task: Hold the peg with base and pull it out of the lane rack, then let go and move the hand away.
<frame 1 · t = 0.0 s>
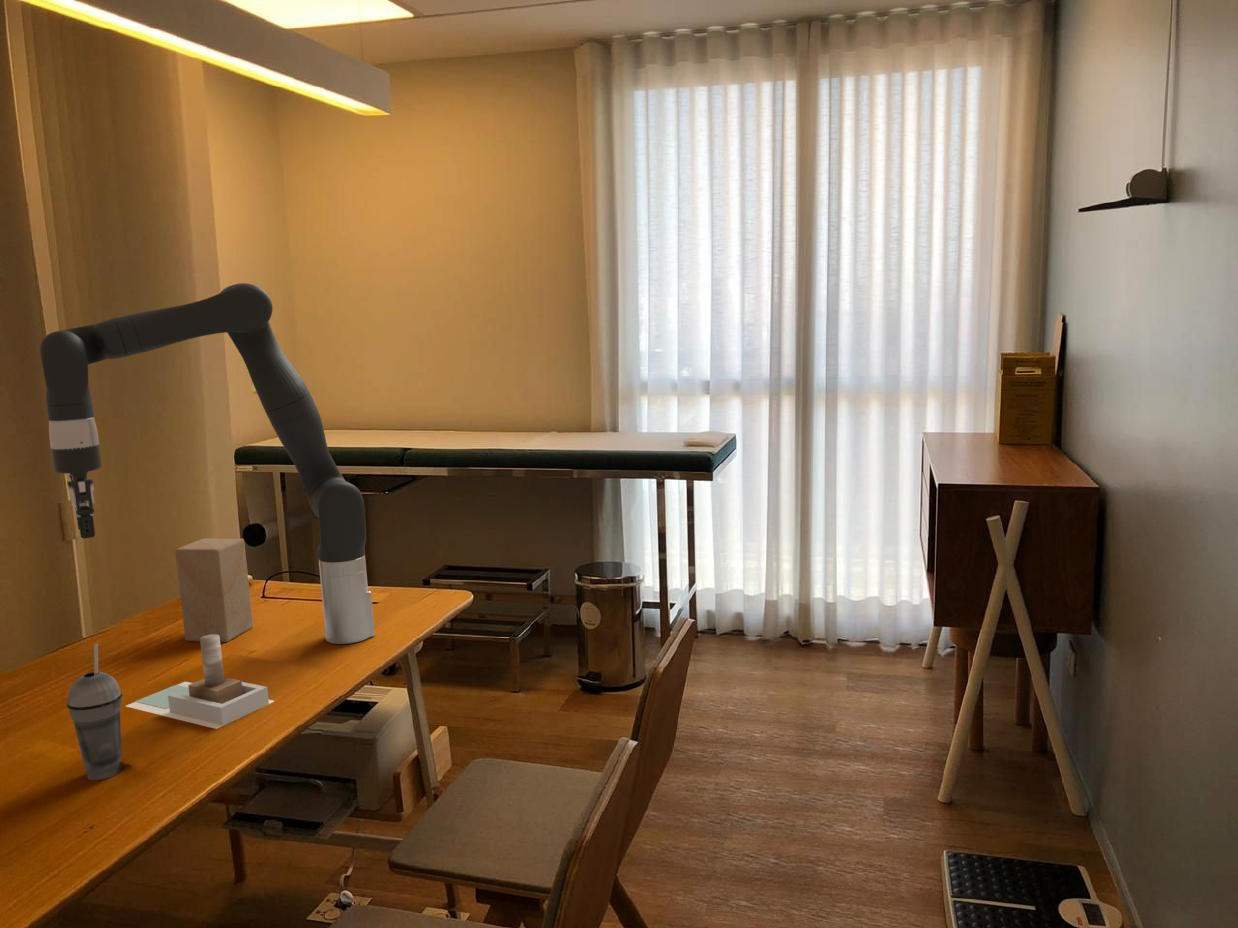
hand: (86, 533, 174), 29 cm above the table, tool pointing down, fingers open, 8 cm apart
lane rack: (202, 712, 166), on the table
beverage cup: (104, 774, 145), on the table
peg with base: (213, 671, 163), point 8 cm above the table, slide at 0.0 cm
wooden block: (220, 635, 208), on the table
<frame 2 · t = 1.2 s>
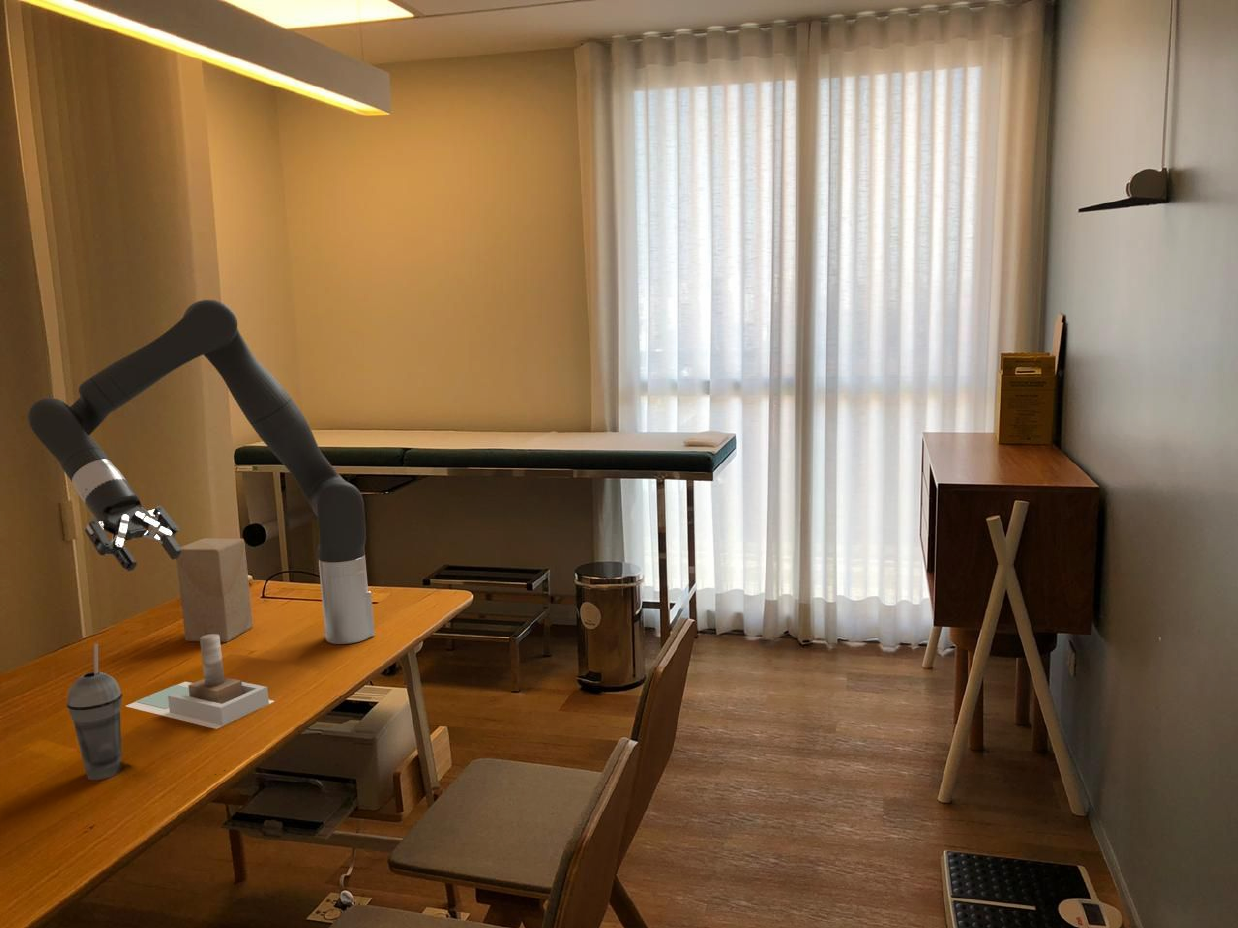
hand: (155, 561, 166), 26 cm above the table, tool tilted 45°, fingers open, 8 cm apart
nothing on the table moved.
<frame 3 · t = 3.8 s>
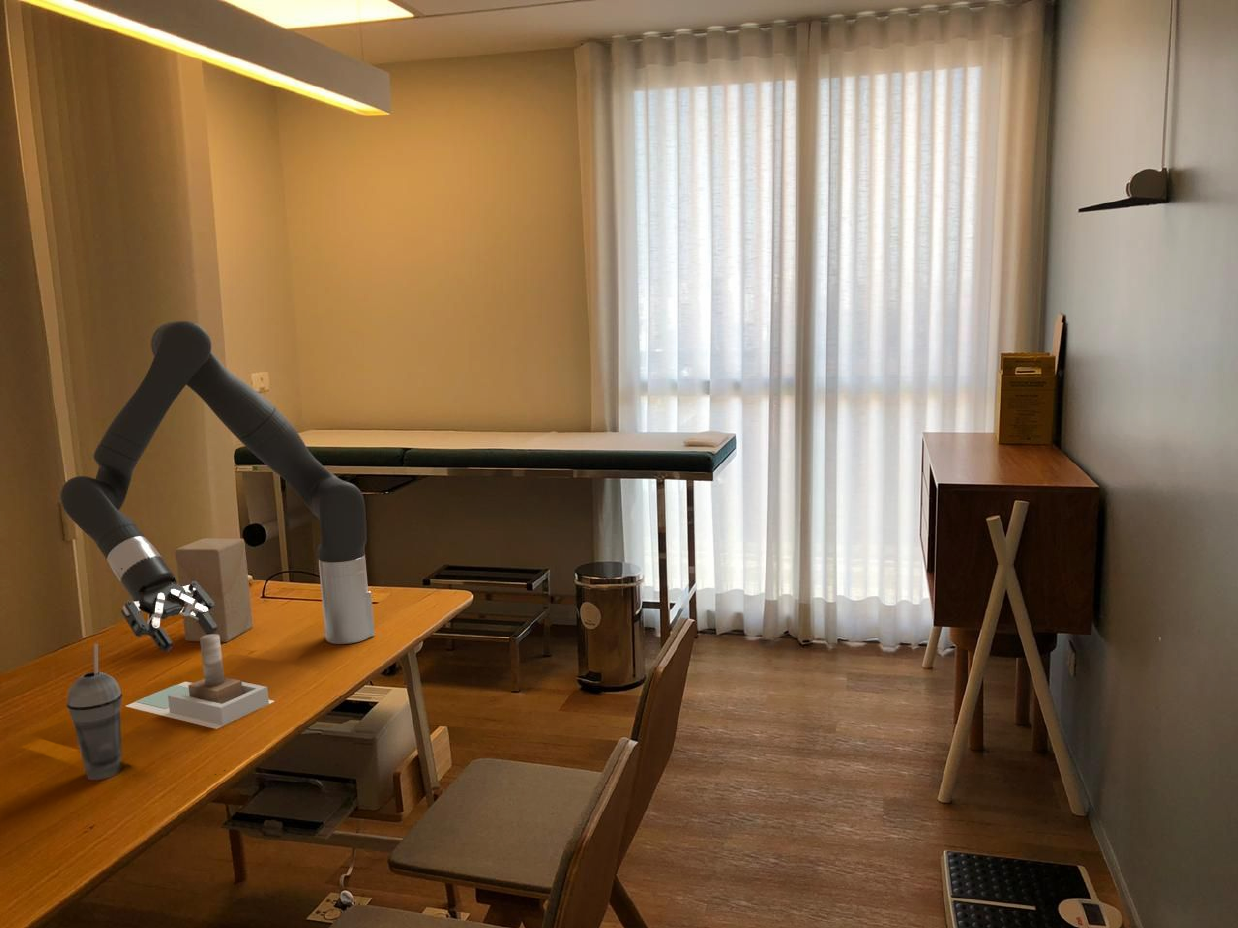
hand: (192, 640, 164), 13 cm above the table, tool tilted 45°, fingers open, 8 cm apart
nothing on the table moved.
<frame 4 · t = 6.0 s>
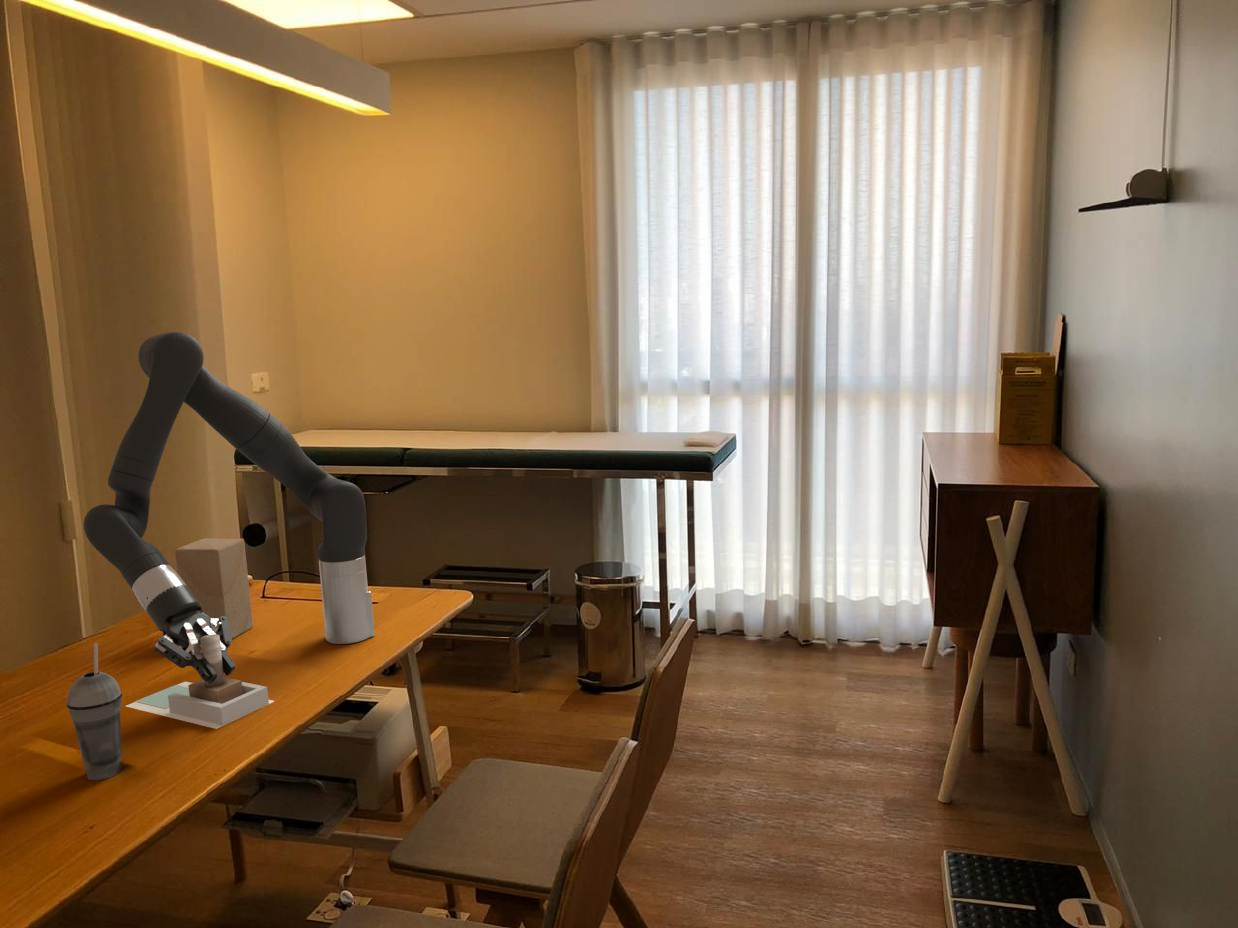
hand: (222, 675, 162), 7 cm above the table, tool tilted 45°, fingers closed on peg with base, 3 cm apart
peg with base: (213, 671, 163), point 8 cm above the table, slide at 0.0 cm, touching gripper
everything else where it was.
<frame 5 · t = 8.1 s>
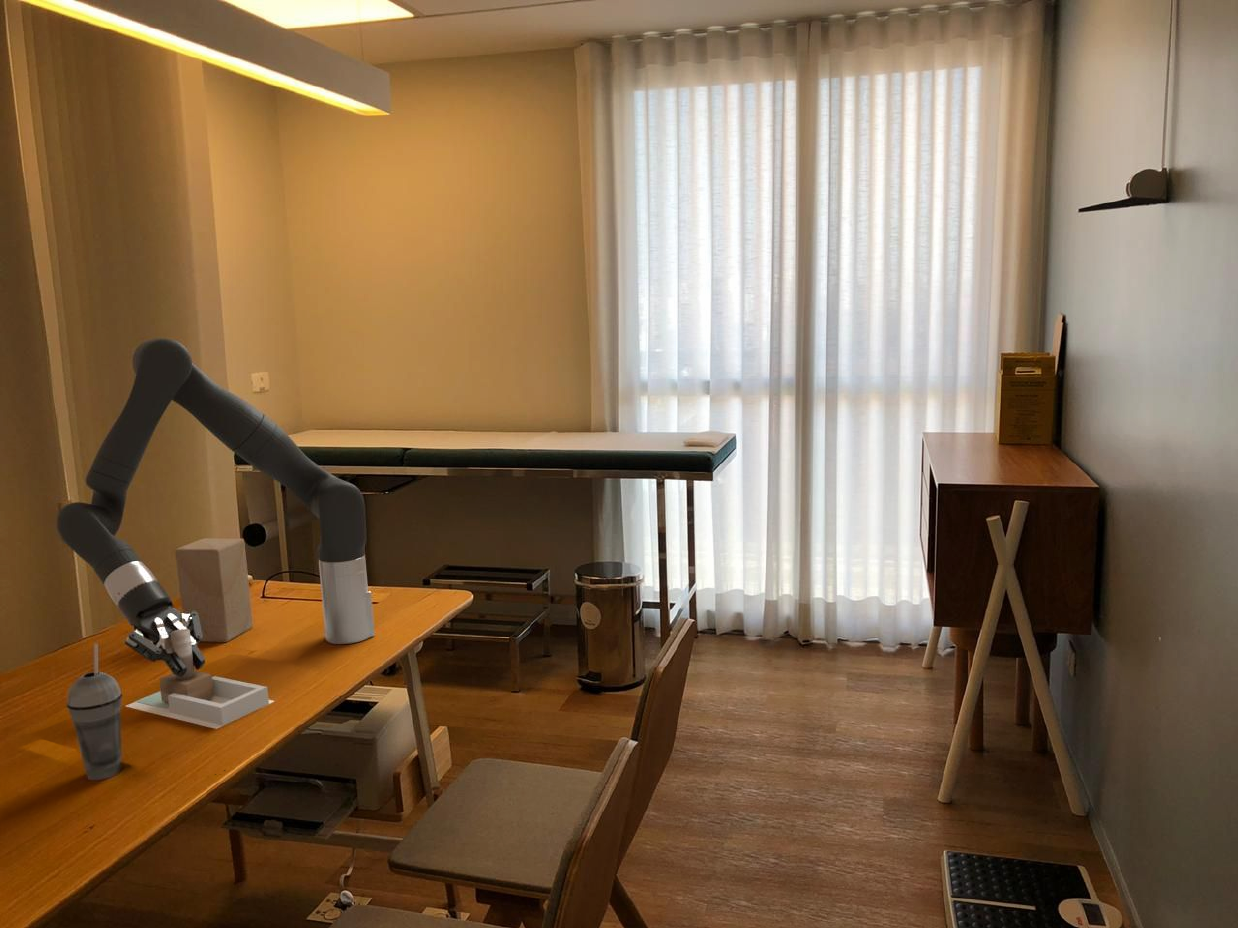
hand: (192, 669, 165), 7 cm above the table, tool tilted 45°, fingers closed on peg with base, 3 cm apart
peg with base: (184, 665, 166), point 8 cm above the table, slide at 7.5 cm, touching gripper
everything else where it was.
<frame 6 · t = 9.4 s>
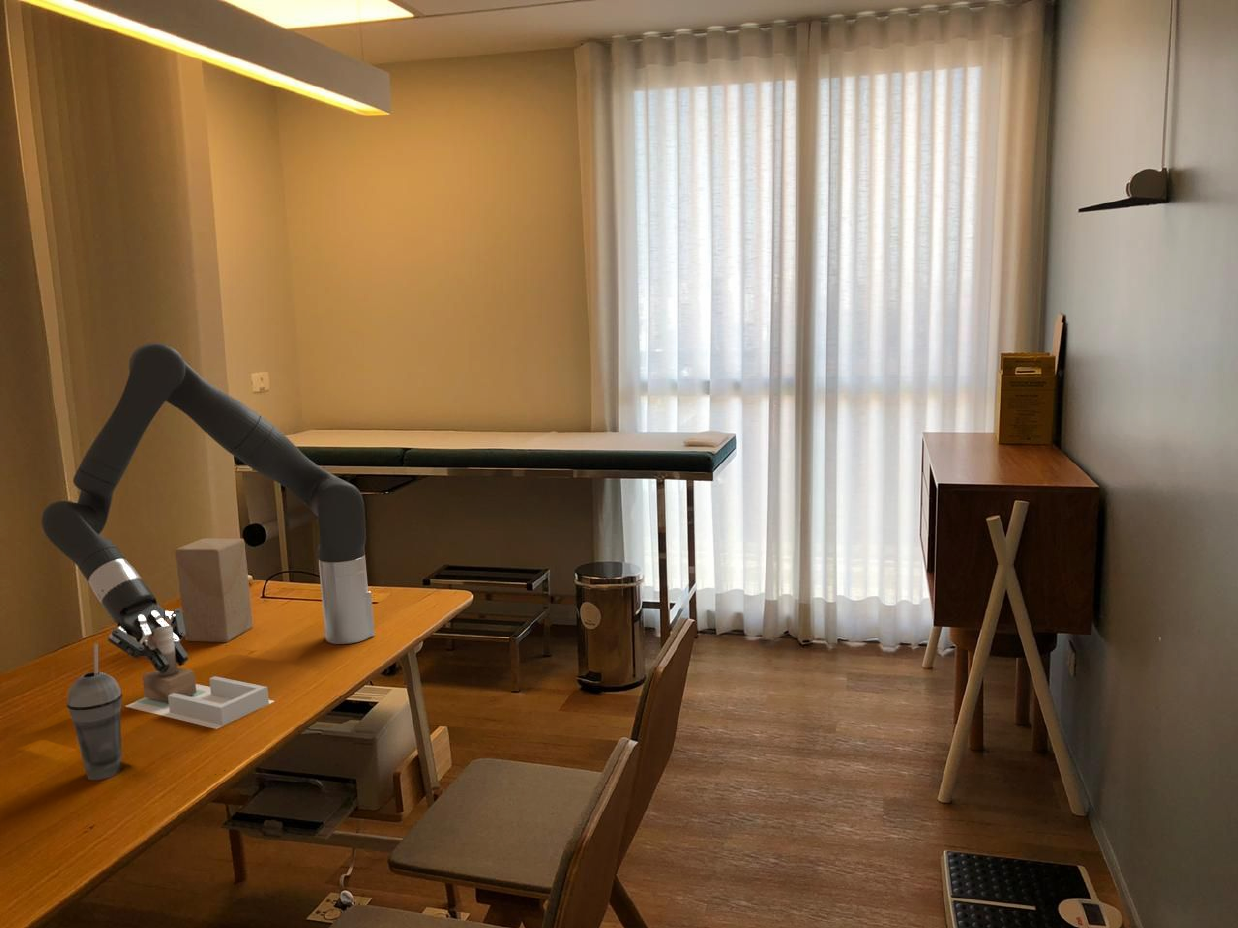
hand: (175, 665, 168), 7 cm above the table, tool tilted 45°, fingers closed on peg with base, 3 cm apart
peg with base: (166, 661, 168), point 8 cm above the table, slide at 11.9 cm, touching gripper
everything else where it was.
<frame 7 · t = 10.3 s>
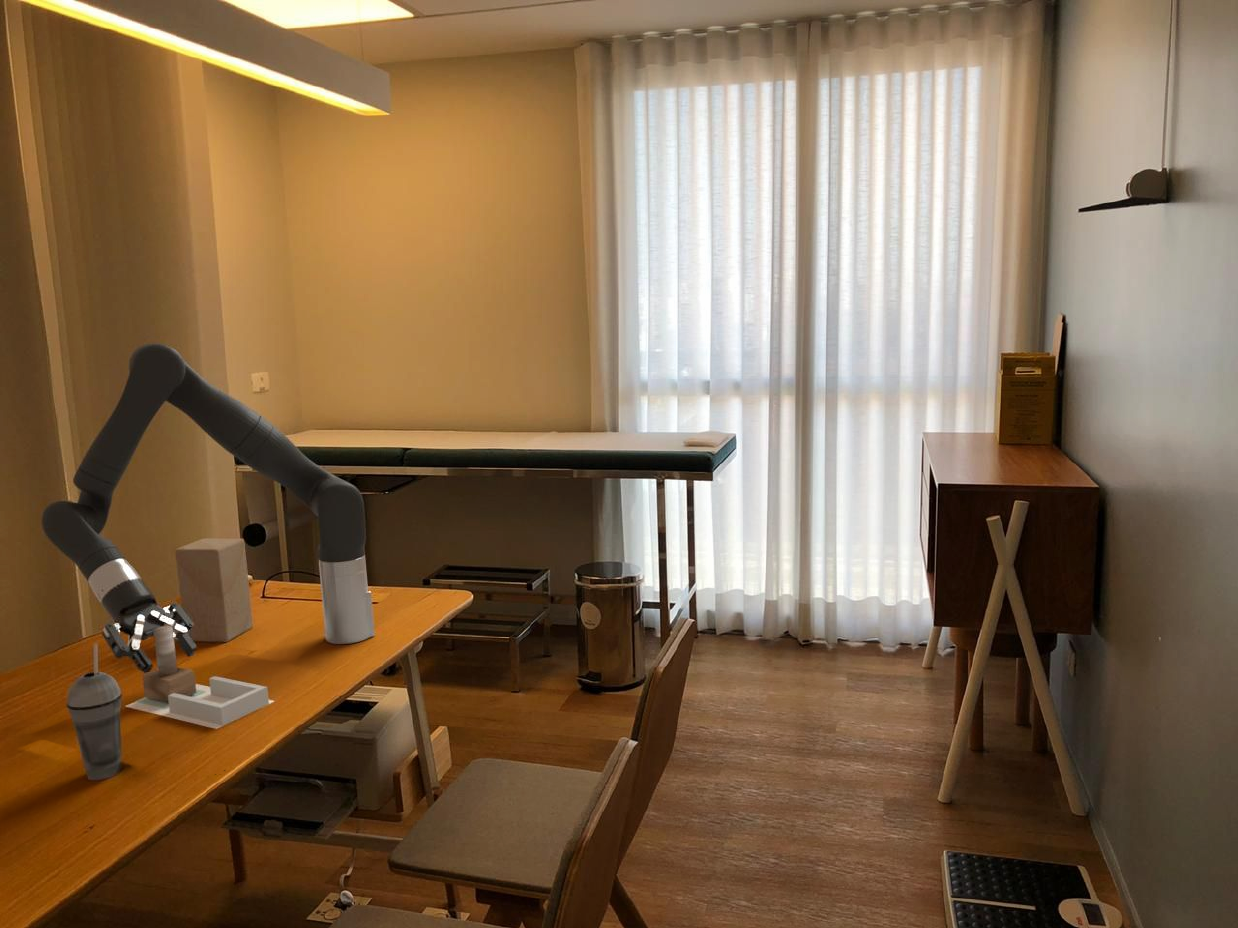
hand: (171, 661, 168), 8 cm above the table, tool tilted 45°, fingers open, 8 cm apart
peg with base: (166, 661, 168), point 8 cm above the table, slide at 12.0 cm
everything else where it was.
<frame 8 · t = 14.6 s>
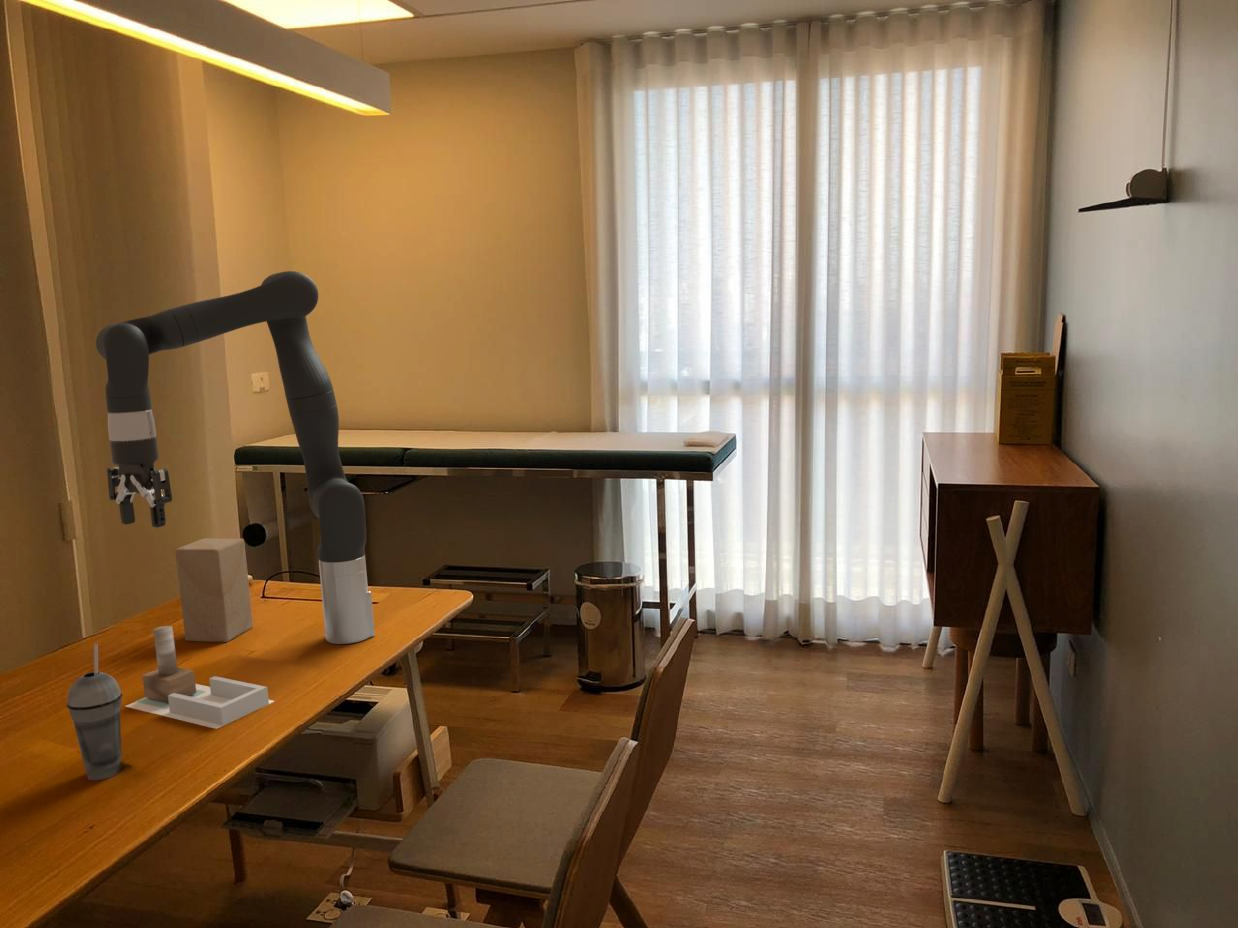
hand: (143, 525, 176), 30 cm above the table, tool pointing down, fingers open, 8 cm apart
nothing on the table moved.
at the end: peg with base slide at 12.0 cm; the gripper is holding nothing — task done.
